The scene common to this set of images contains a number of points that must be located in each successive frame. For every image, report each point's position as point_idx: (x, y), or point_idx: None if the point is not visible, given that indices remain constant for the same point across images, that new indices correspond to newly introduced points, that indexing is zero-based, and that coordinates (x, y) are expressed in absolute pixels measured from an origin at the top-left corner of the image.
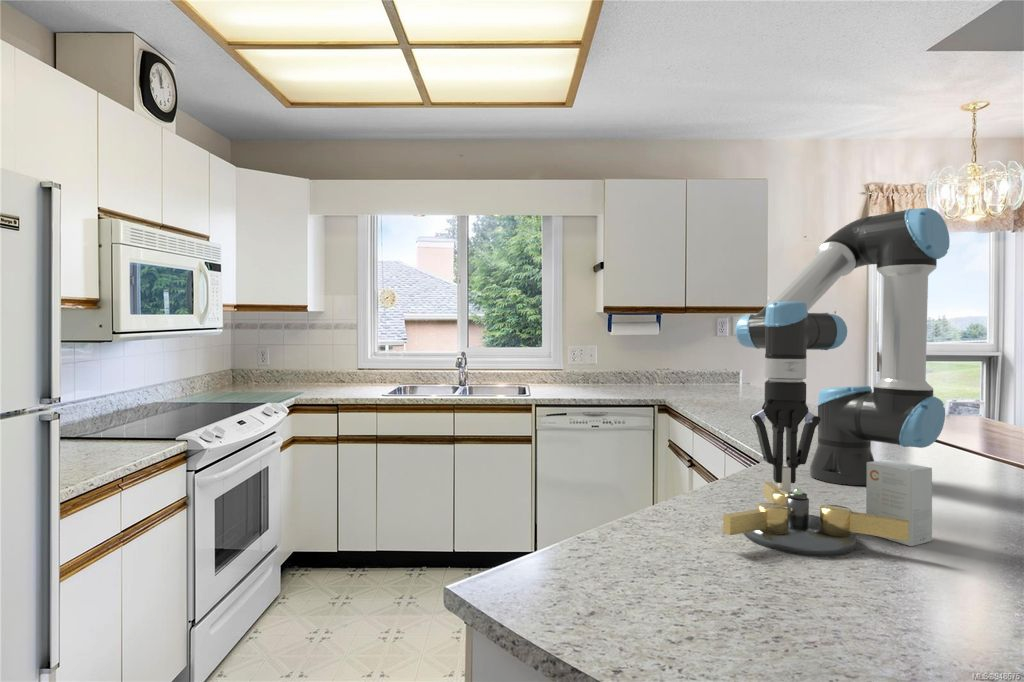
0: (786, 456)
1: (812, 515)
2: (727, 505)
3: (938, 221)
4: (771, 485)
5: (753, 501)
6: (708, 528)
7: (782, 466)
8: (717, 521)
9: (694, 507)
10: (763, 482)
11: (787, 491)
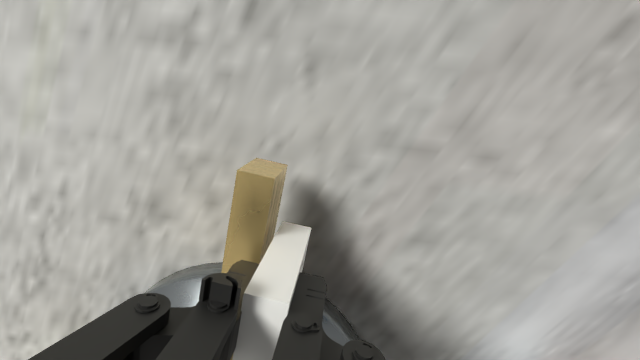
0: (273, 355)
1: (333, 332)
2: (170, 72)
3: None
4: (240, 239)
5: (292, 26)
6: (44, 285)
7: (247, 332)
8: (84, 235)
9: (49, 84)
10: (238, 169)
11: None
